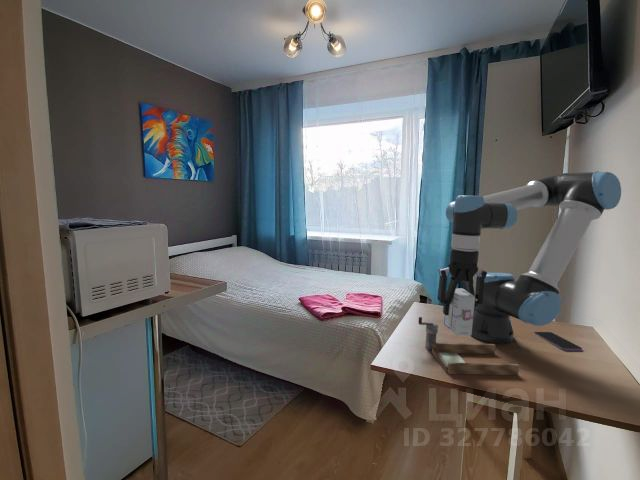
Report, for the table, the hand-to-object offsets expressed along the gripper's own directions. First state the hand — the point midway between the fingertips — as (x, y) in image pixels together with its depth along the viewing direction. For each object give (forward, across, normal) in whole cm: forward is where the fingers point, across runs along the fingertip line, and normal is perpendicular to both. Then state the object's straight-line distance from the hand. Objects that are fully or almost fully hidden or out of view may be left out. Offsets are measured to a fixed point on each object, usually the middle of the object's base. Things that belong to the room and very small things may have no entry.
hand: (457, 325), depth 102 cm
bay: (+12, -3, -2) cm, 12 cm away
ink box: (+2, 0, 0) cm, 2 cm away
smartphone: (+12, -44, -17) cm, 48 cm away
